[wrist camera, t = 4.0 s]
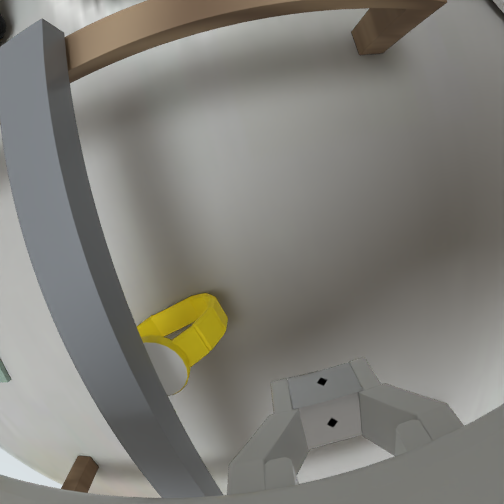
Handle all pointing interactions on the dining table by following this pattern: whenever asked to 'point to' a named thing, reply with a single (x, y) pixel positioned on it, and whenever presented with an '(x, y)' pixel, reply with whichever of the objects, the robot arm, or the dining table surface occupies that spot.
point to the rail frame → (204, 19)
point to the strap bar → (84, 264)
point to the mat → (3, 373)
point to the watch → (182, 338)
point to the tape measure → (2, 27)
